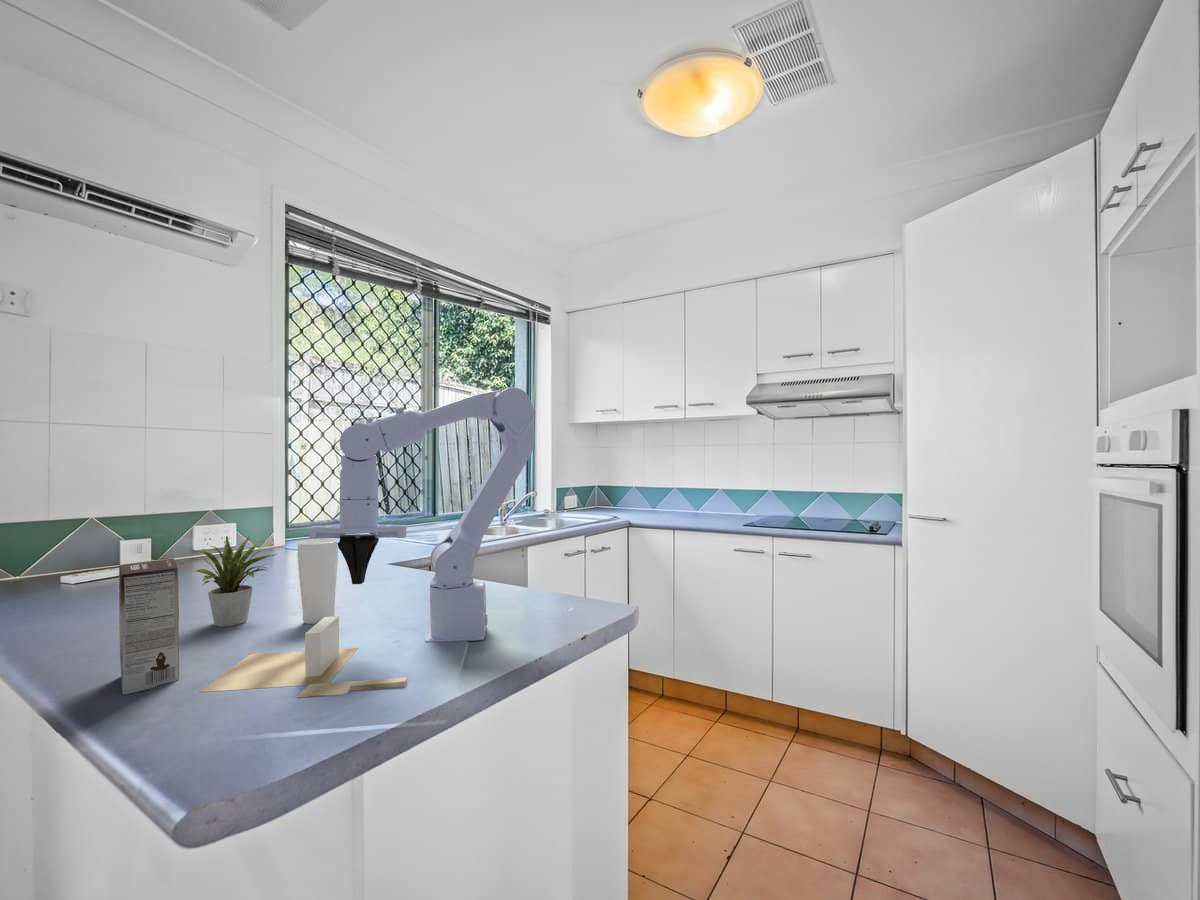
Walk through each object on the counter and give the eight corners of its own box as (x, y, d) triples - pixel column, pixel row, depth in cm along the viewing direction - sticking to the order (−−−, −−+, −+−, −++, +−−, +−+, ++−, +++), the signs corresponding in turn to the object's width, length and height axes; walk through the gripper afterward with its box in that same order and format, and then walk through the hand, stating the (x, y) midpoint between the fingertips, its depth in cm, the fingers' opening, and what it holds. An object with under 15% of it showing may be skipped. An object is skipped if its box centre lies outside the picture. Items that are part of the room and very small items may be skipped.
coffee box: (119, 676, 81) (118, 563, 81) (175, 664, 85) (173, 557, 85) (121, 696, 74) (119, 573, 74) (181, 682, 78) (180, 566, 78)
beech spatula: (409, 680, 78) (409, 673, 78) (403, 693, 74) (403, 685, 74) (308, 689, 76) (308, 681, 76) (297, 702, 72) (296, 694, 72)
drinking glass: (307, 616, 109) (306, 539, 109) (344, 615, 110) (343, 538, 110) (291, 627, 103) (290, 544, 103) (330, 626, 103) (329, 543, 103)
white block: (339, 655, 87) (338, 616, 87) (320, 675, 79) (320, 632, 79) (324, 656, 86) (324, 617, 86) (304, 676, 79) (304, 633, 79)
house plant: (241, 636, 98) (240, 542, 98) (162, 637, 98) (161, 542, 98) (288, 613, 112) (287, 530, 112) (219, 613, 112) (218, 531, 112)
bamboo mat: (358, 650, 90) (358, 647, 90) (328, 686, 76) (328, 683, 76) (250, 656, 88) (250, 654, 88) (199, 695, 74) (199, 692, 74)
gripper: (410, 496, 97) (409, 576, 96) (320, 497, 95) (319, 578, 95) (401, 500, 90) (400, 586, 89) (304, 500, 88) (303, 588, 88)
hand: (358, 583), depth 92 cm, fingers closed
